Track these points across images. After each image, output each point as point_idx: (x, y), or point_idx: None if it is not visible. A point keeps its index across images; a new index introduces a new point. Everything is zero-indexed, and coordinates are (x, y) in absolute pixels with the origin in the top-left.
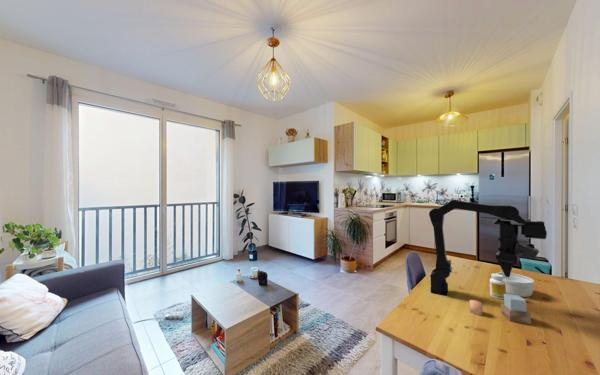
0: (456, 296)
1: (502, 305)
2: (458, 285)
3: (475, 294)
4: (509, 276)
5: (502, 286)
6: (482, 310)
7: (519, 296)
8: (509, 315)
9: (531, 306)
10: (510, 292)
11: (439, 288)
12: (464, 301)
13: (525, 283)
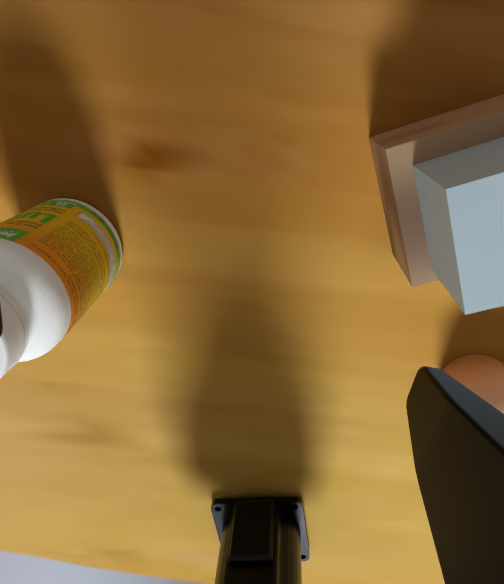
0: (271, 456)
1: (433, 276)
2: (58, 443)
3: (150, 368)
4: (451, 376)
5: (60, 260)
6: (490, 369)
7: (475, 185)
8: None
9: (100, 24)
10: None
11: (300, 557)
12: (327, 425)
13: None
